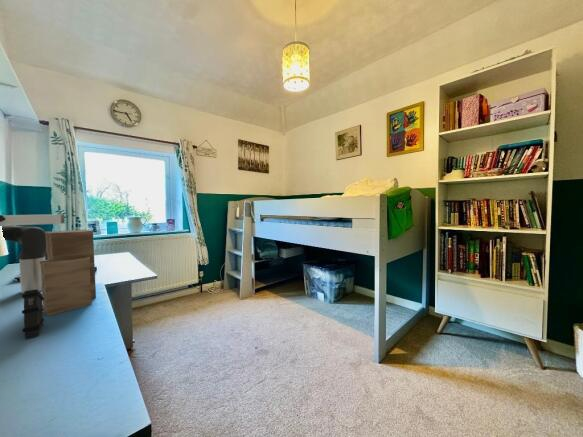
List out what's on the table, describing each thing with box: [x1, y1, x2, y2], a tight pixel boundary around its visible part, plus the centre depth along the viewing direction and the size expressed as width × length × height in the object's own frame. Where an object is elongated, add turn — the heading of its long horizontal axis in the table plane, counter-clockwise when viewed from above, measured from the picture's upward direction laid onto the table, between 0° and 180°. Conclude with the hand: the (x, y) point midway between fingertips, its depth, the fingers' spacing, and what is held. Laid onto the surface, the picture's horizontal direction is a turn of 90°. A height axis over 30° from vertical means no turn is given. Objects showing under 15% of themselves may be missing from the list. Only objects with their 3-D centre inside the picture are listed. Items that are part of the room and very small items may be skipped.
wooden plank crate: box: [40, 228, 97, 317], centre depth 108 cm, size 21×18×32 cm
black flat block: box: [21, 289, 45, 340], centre depth 84 cm, size 4×13×15 cm, turn 40°
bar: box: [0, 213, 66, 226], centre depth 100 cm, size 4×24×4 cm, turn 144°
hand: (2, 217), depth 95 cm, fingers closed on bar, 4 cm apart
